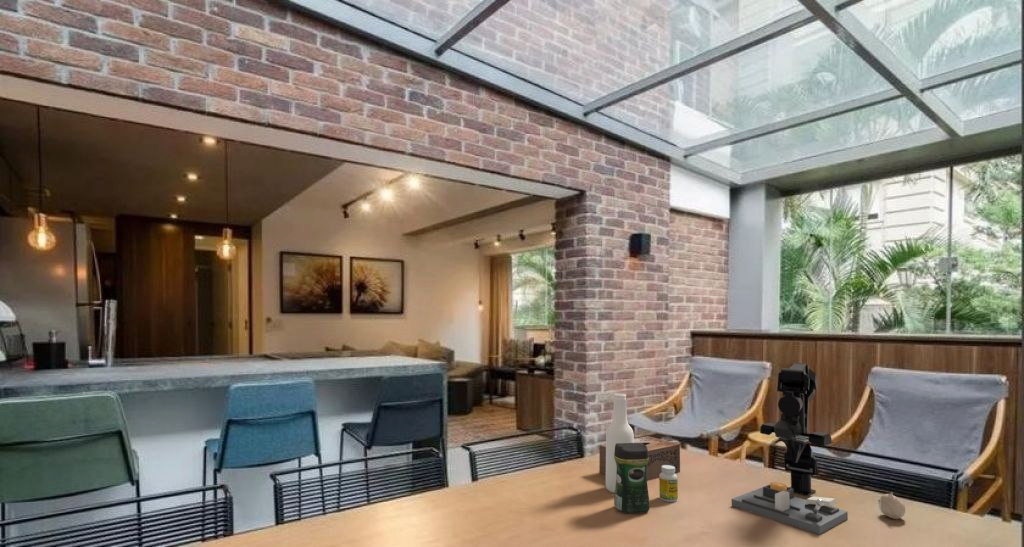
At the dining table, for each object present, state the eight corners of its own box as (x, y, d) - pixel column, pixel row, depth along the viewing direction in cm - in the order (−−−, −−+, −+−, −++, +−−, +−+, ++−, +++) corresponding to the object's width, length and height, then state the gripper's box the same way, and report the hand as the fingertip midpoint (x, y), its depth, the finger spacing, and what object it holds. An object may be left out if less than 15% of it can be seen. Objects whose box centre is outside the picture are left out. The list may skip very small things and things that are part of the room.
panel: (762, 493, 162) (762, 479, 163) (847, 518, 143) (847, 502, 144) (731, 505, 151) (731, 490, 152) (819, 534, 132) (819, 516, 133)
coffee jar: (641, 503, 152) (641, 439, 153) (653, 514, 144) (653, 446, 145) (610, 505, 150) (610, 440, 152) (620, 515, 142) (620, 447, 144)
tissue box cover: (647, 462, 195) (647, 436, 196) (680, 472, 183) (679, 444, 184) (599, 474, 180) (599, 445, 181) (631, 485, 168) (631, 454, 169)
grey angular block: (783, 506, 146) (783, 490, 146) (789, 508, 145) (789, 492, 145) (775, 510, 143) (774, 493, 143) (781, 512, 142) (780, 495, 142)
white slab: (813, 500, 148) (812, 496, 149) (836, 503, 144) (835, 498, 144) (807, 503, 146) (806, 499, 146) (830, 506, 141) (829, 501, 142)
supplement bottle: (667, 495, 160) (667, 463, 160) (681, 500, 155) (681, 467, 156) (655, 498, 157) (655, 465, 157) (669, 503, 152) (669, 470, 153)
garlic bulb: (873, 514, 147) (872, 486, 147) (887, 511, 149) (886, 483, 150) (898, 523, 141) (897, 493, 141) (912, 520, 143) (911, 490, 144)
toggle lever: (812, 509, 138) (819, 496, 137) (819, 514, 137) (826, 501, 136) (809, 511, 137) (816, 498, 136) (816, 516, 136) (823, 502, 135)
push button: (774, 491, 158) (774, 481, 158) (789, 495, 154) (789, 485, 154) (767, 494, 155) (767, 483, 155) (782, 498, 151) (782, 487, 152)
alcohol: (635, 487, 166) (635, 393, 168) (632, 496, 158) (632, 397, 160) (607, 483, 169) (608, 391, 171) (603, 492, 161) (604, 395, 163)
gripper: (750, 408, 159) (751, 459, 158) (814, 419, 145) (816, 475, 143) (768, 404, 166) (769, 453, 165) (831, 414, 151) (833, 468, 150)
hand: (795, 462), depth 156 cm, fingers closed
